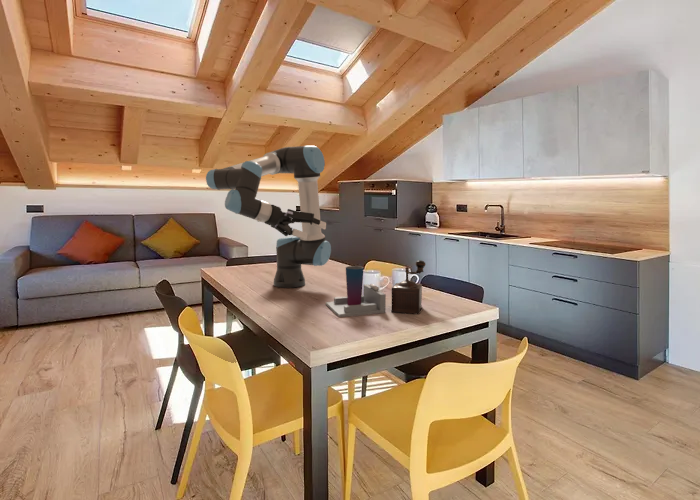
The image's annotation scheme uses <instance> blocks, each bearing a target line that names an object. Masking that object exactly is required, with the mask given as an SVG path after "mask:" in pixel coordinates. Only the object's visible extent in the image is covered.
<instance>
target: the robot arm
mask: <svg viewBox="0 0 700 500" xmlns="http://www.w3.org/2000/svg"><path fill="white" fill-rule="evenodd" d="M325 163H326V162H325V156H324V154H323V152H322V151H321V149H320V148H319V147H317V145H316V146H315V145H302V146H301V145H299V146H286V147H282V148H278V149H275V150H273V151H270V152H266V153H265V154H264V155H262V156H261V157H258V158H254V159H251V160H246V161H244V162H241V163H238V164H233V165H231V166H227V167H223V168H214V169H210V170H208V171H207V173H206V175H205V181H206V185H207V186H208V187H209V189H212V190H218V191H220V190H229V191H228V193H227V195H226V197H225V200H224V208H225V209H226V210H228V211H230V212H232V213H234V214H236V215H241V216H243V217H246V218H249V219H253V220H255V221H256V222H259V223H260V222H261V223H263V224H265V225H268V226H270V227H271V228H273V229H275V230H277V231H278V232H280V233H281V234H282V235H284V236H285V237H282V238H279V239H277V240H276V272H275V274H274V278H273V286H274V287H275V288H284V289H285V288H286V289H288V288H289V289H291V288H293V289H294V288H299V287H303V286H305V285H306V279H305V276H304V273H303V268H302V265H306V266H314V267H317V266H319V267H320V266H321V267H322V266H325V265H326V264H327V263H328V261H329V259H330V256H331V254H332V245H331V243H330V241H328V240H326V235H325V234H324V233H323V232H322V230H326V229H327V222H325V221H324V220H321V211H320V209H321V208H320V200H319V199H320V198H319V197H320V196H319V187H318V186H319V185H318V184H319V183H318V180H319V178H321V173H323V171H324V169H325V166H326V165H325ZM276 174H293V179H294V180H295V181H297V185H298V194H299V195H298V196H299V207H300V211H299V210H293V209H290V208H288V209H287V211H286V212H284V211H282V208H281V207H280V206H277V205H275V204H271V203H270V202H267V201H264V200H261V199H259V198H257V194H258V191H259V187H260V183H261V179H262V177H264V176H267V175H272V176H273V175H276ZM295 223H301V229H302V230H299V229H296V228H293V227H291V226H290V225H289V224H295ZM288 236H289V237H288Z"/></svg>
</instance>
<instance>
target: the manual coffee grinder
mask: <svg viewBox="0 0 700 500" xmlns="http://www.w3.org/2000/svg"><path fill="white" fill-rule="evenodd" d="M414 264H415V266H416V271H409V270H410V268H409V267H408V266H406V267H405V280H403V281H401V282H396V283H394V285H393V286H392V287H391V313H394V314H395V313H396V314H405V313H406V314H407V315H419V314H420V313H421V312H422V311H423V306H422V305H423V304H422V299H423V298H422V297H423V296H422V295H423V292H422V291H423V284H422V283H417V281H413V280H410V279H409V275H417V274H421V273H424V268H425V266H426V262H425V261H423V260H416V261H415V263H414Z"/></svg>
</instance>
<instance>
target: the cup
mask: <svg viewBox="0 0 700 500" xmlns="http://www.w3.org/2000/svg"><path fill="white" fill-rule="evenodd" d="M364 267H365V266H364ZM364 267H363V266H361V265H350V266H349V265H348V266H345V278H346V294H347V295H346V297H347V300H348V305H360V304H361V297H362V294H363V279H364Z"/></svg>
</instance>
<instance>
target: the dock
mask: <svg viewBox="0 0 700 500" xmlns="http://www.w3.org/2000/svg"><path fill="white" fill-rule="evenodd" d="M386 296H387V295H386V293H384V292H383V291H381V290H380V288H379V286H377V285H376V284H373V283H370V284H368V283H367V284H363V295H362V297H361V304H360V305H348V300H347V296H335V297H333V301H325V305H326V307H327V308H329V310H331V311H332V312H333V314H335V315H336V316H337V317H338V318H346V317H355V316H365V315H367V316H368V315H375V314H385V313H386Z"/></svg>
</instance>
